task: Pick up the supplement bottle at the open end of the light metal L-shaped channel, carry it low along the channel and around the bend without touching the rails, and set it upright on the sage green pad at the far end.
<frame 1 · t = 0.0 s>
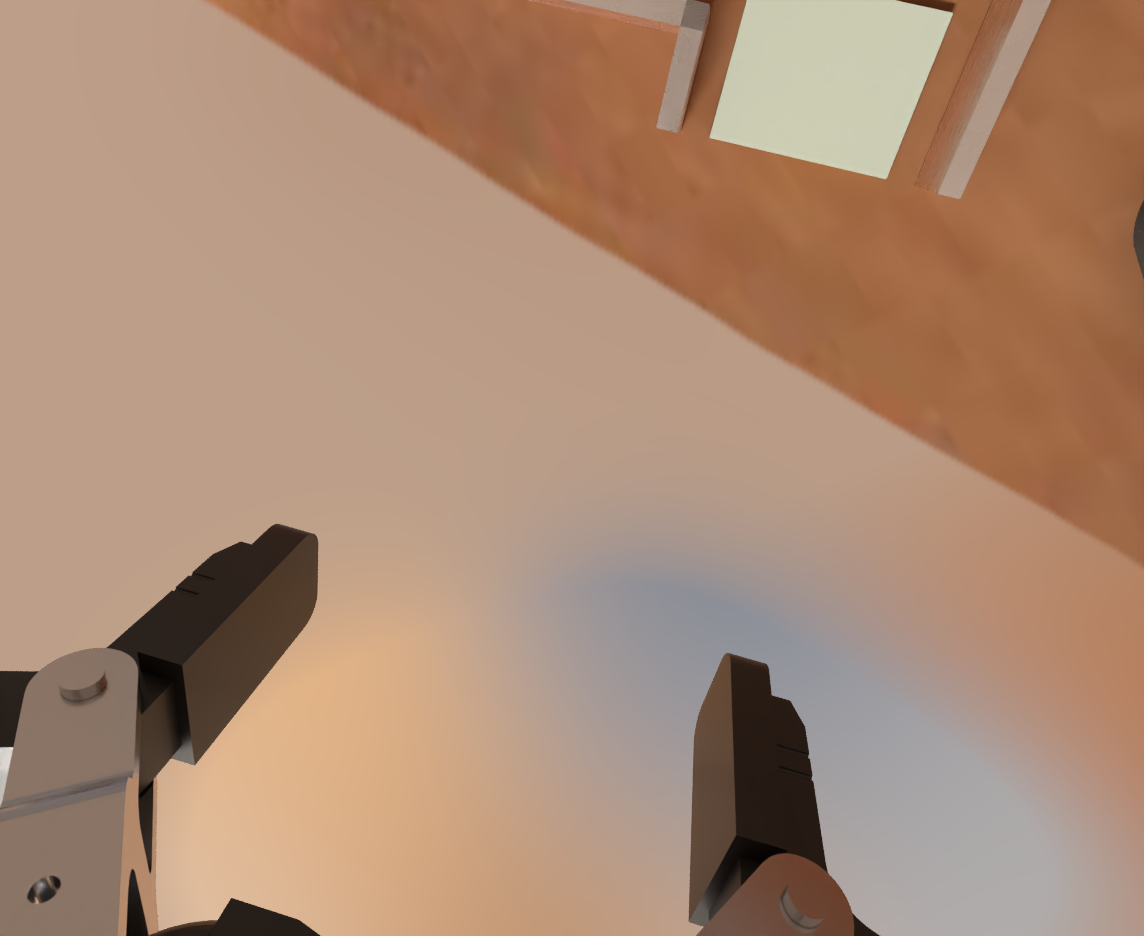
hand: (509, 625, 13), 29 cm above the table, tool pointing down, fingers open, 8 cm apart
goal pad: (822, 79, 32), on the table
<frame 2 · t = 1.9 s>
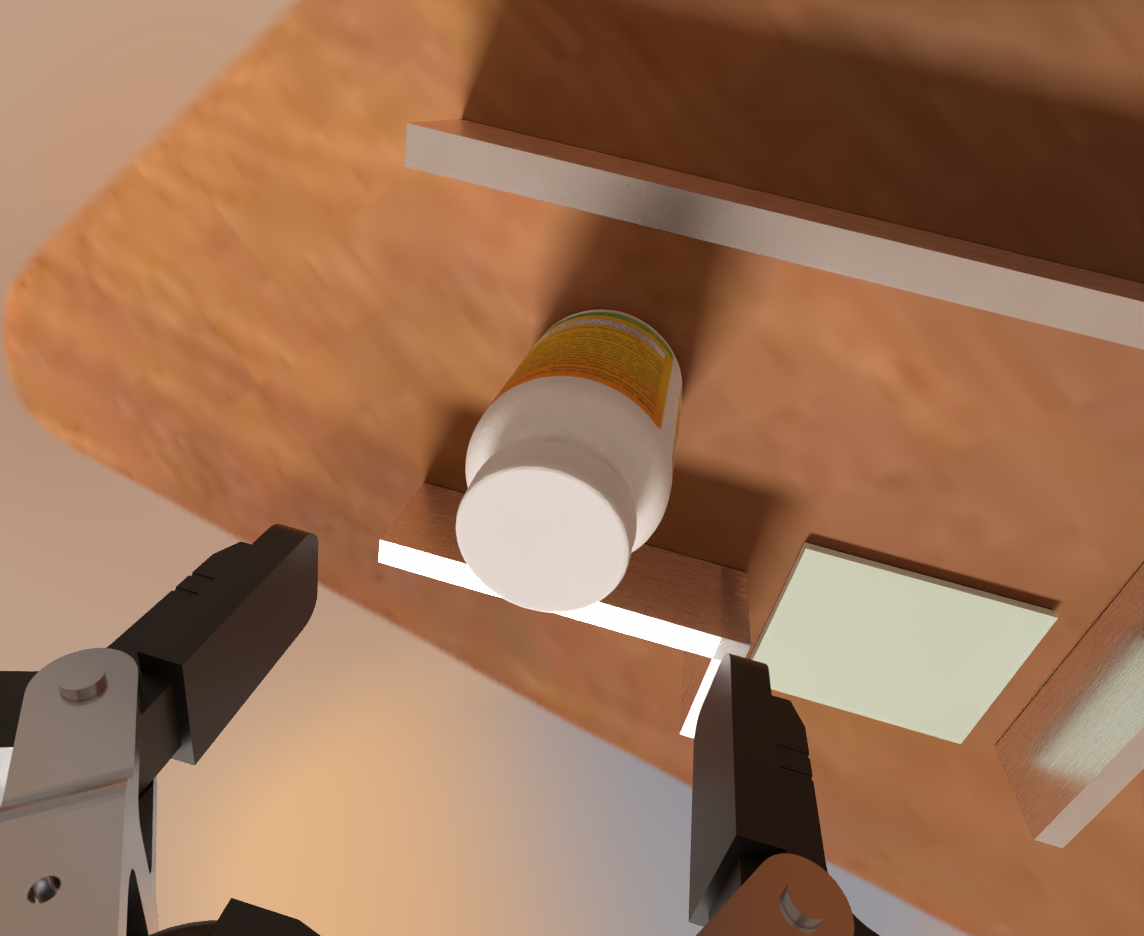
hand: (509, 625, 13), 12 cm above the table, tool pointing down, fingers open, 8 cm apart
supplement bottle: (605, 381, 23), on the table
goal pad: (885, 644, 26), on the table
channel: (983, 484, 22), on the table
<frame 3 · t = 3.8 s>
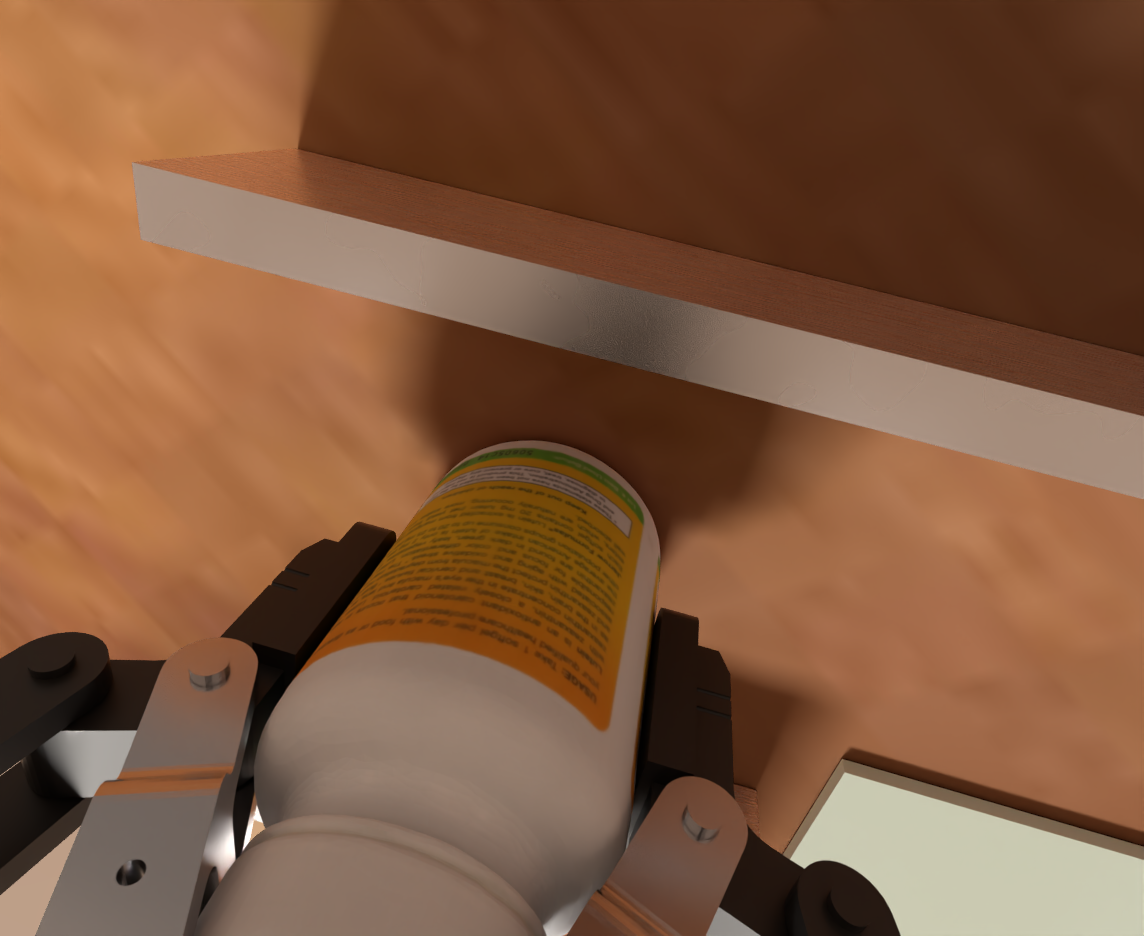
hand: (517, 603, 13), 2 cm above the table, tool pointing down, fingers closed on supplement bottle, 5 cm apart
supplement bottle: (545, 535, 16), on the table, touching gripper
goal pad: (955, 888, 18), on the table
channel: (1120, 701, 15), on the table
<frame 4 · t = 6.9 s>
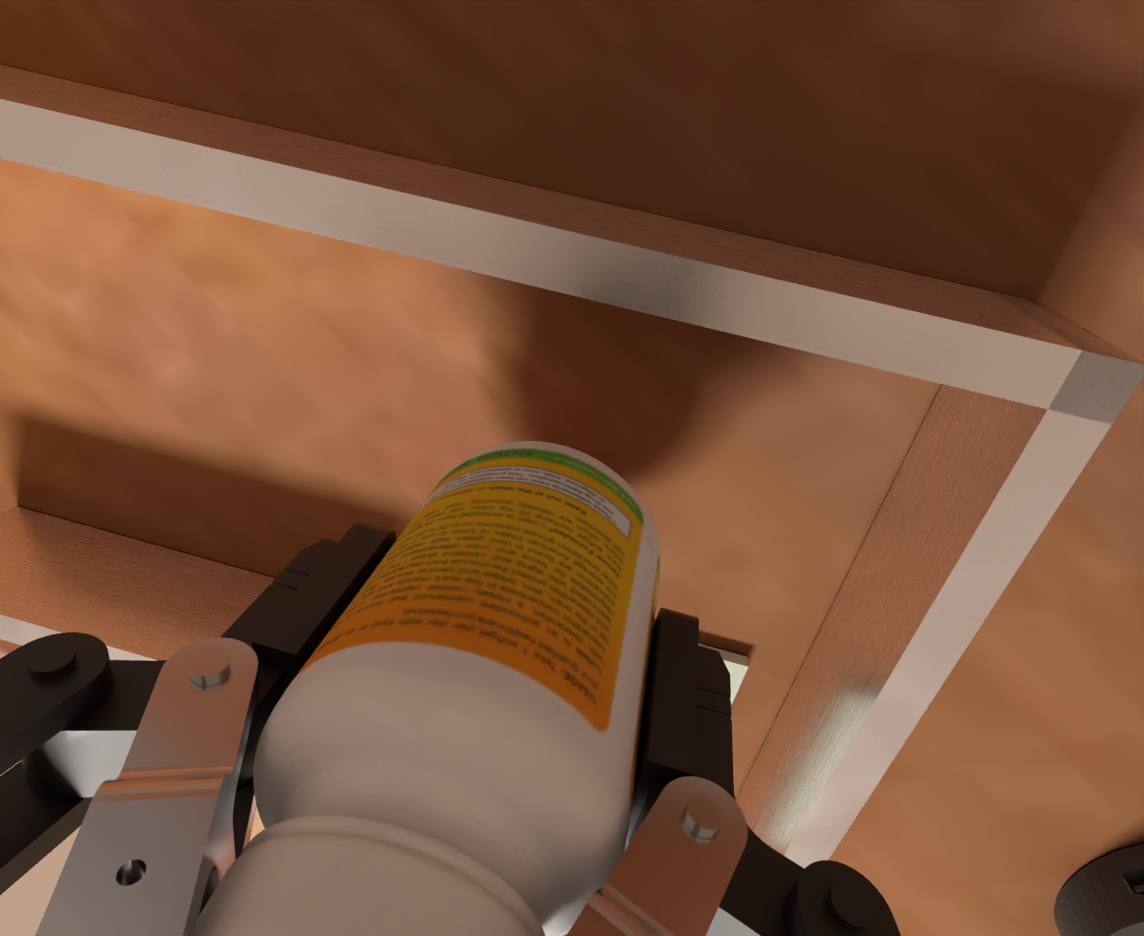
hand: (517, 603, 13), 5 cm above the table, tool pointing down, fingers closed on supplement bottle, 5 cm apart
supplement bottle: (545, 535, 16), point 2 cm above the table, touching gripper
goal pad: (572, 697, 21), on the table
channel: (625, 500, 18), on the table
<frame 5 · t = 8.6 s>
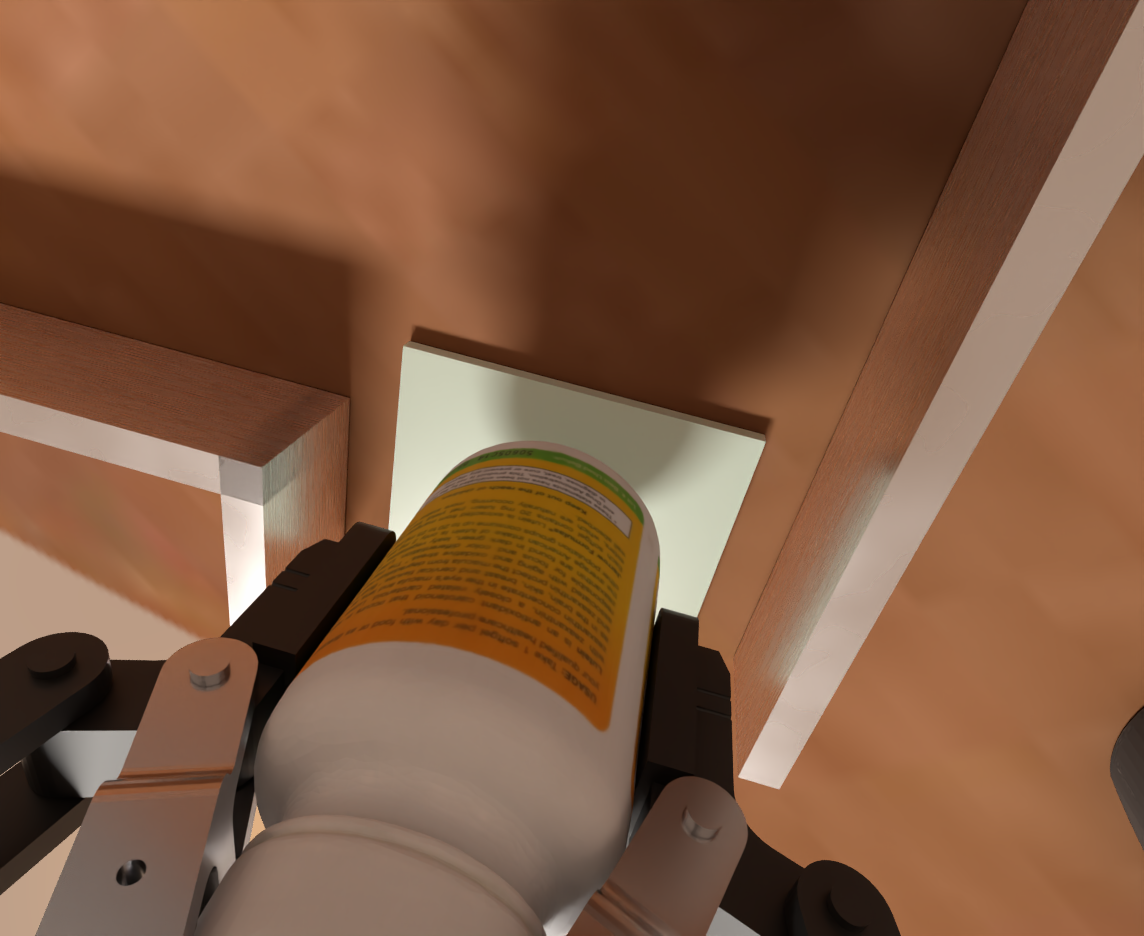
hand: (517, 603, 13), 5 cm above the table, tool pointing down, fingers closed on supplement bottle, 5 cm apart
supplement bottle: (545, 535, 16), point 3 cm above the table, touching gripper
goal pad: (557, 504, 18), on the table
channel: (622, 218, 14), on the table
when the fingers open (4 cm above the table, at t = 10.2 s): supplement bottle stays where it is, resting on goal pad.
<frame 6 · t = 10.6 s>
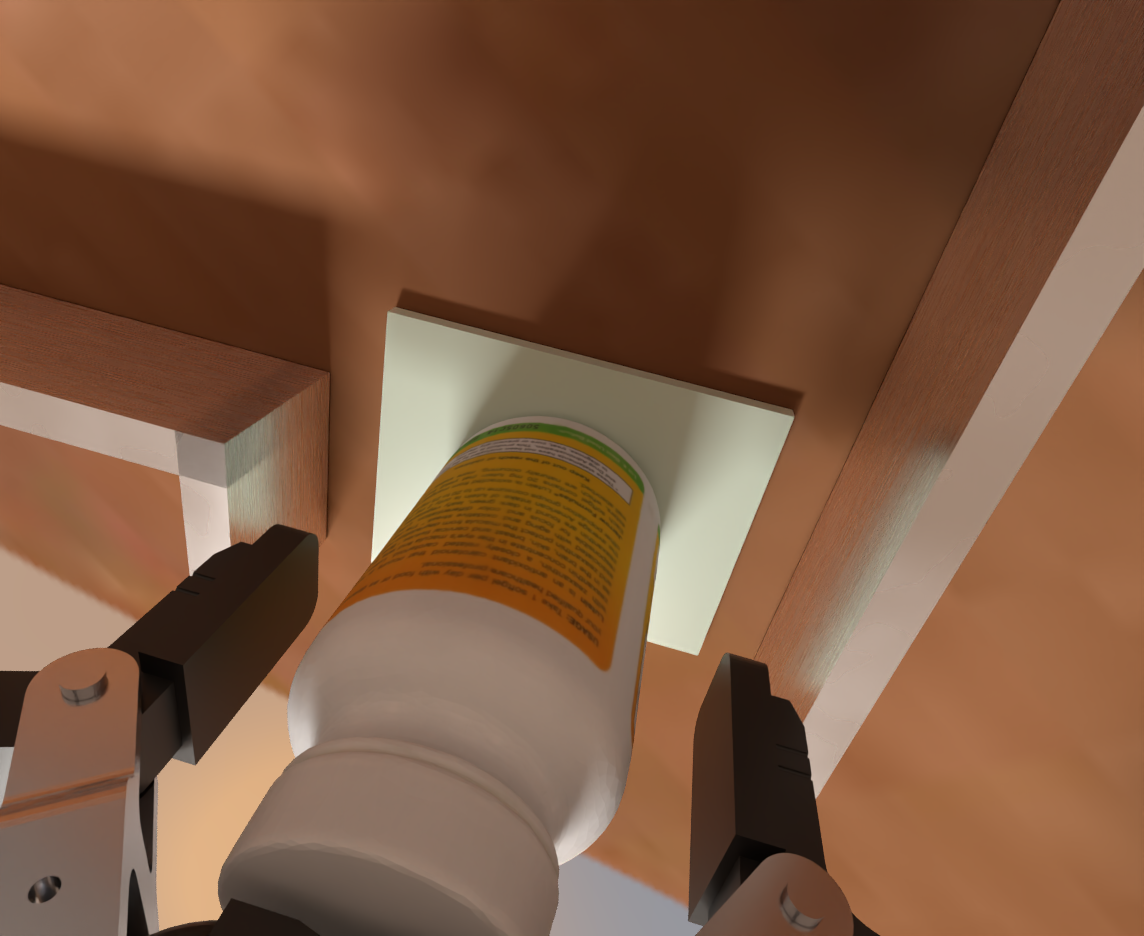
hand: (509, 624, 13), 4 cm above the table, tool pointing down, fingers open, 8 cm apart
supplement bottle: (552, 507, 16), resting on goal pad
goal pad: (559, 490, 16), on the table
channel: (634, 160, 13), on the table
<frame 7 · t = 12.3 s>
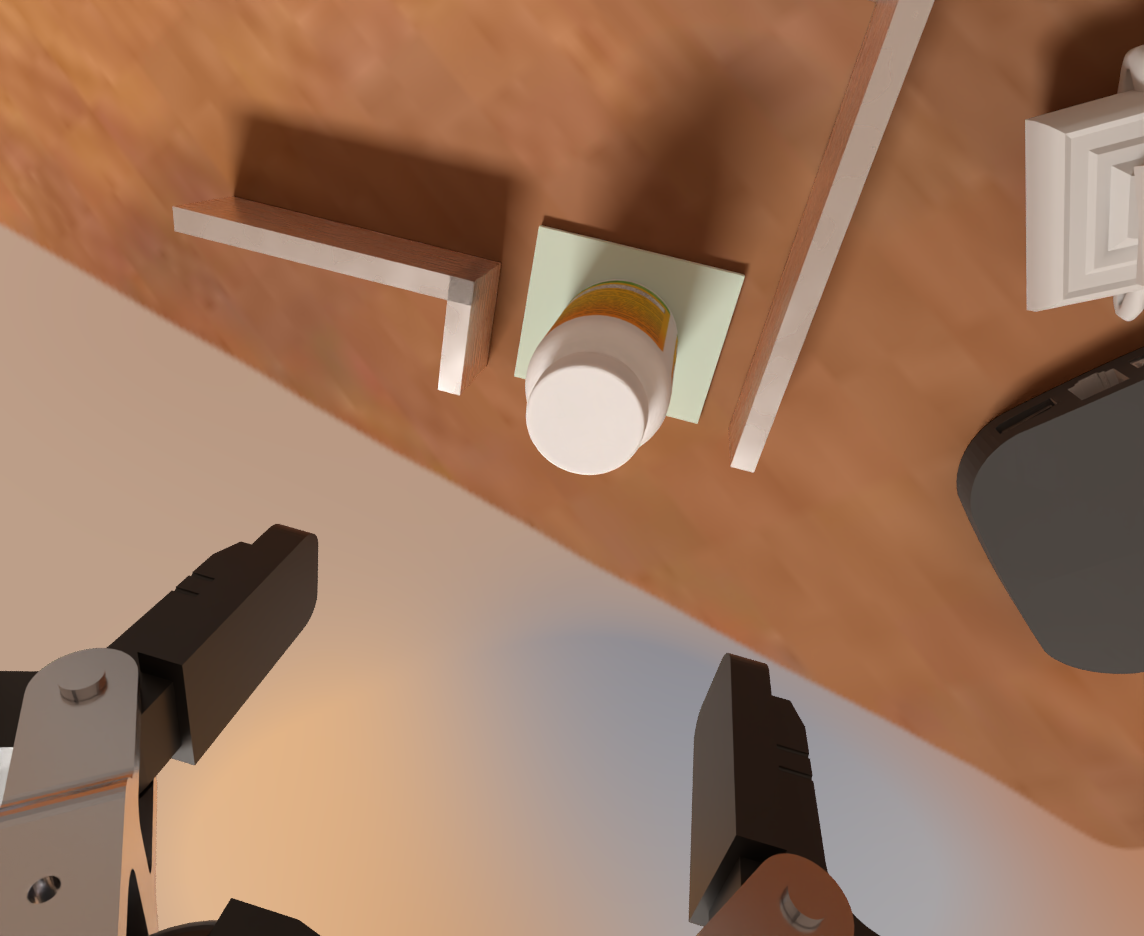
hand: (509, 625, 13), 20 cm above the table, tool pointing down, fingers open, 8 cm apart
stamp: (1097, 186, 25), on the table
supplement bottle: (618, 336, 31), resting on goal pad
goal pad: (622, 327, 31), on the table
channel: (666, 148, 27), on the table
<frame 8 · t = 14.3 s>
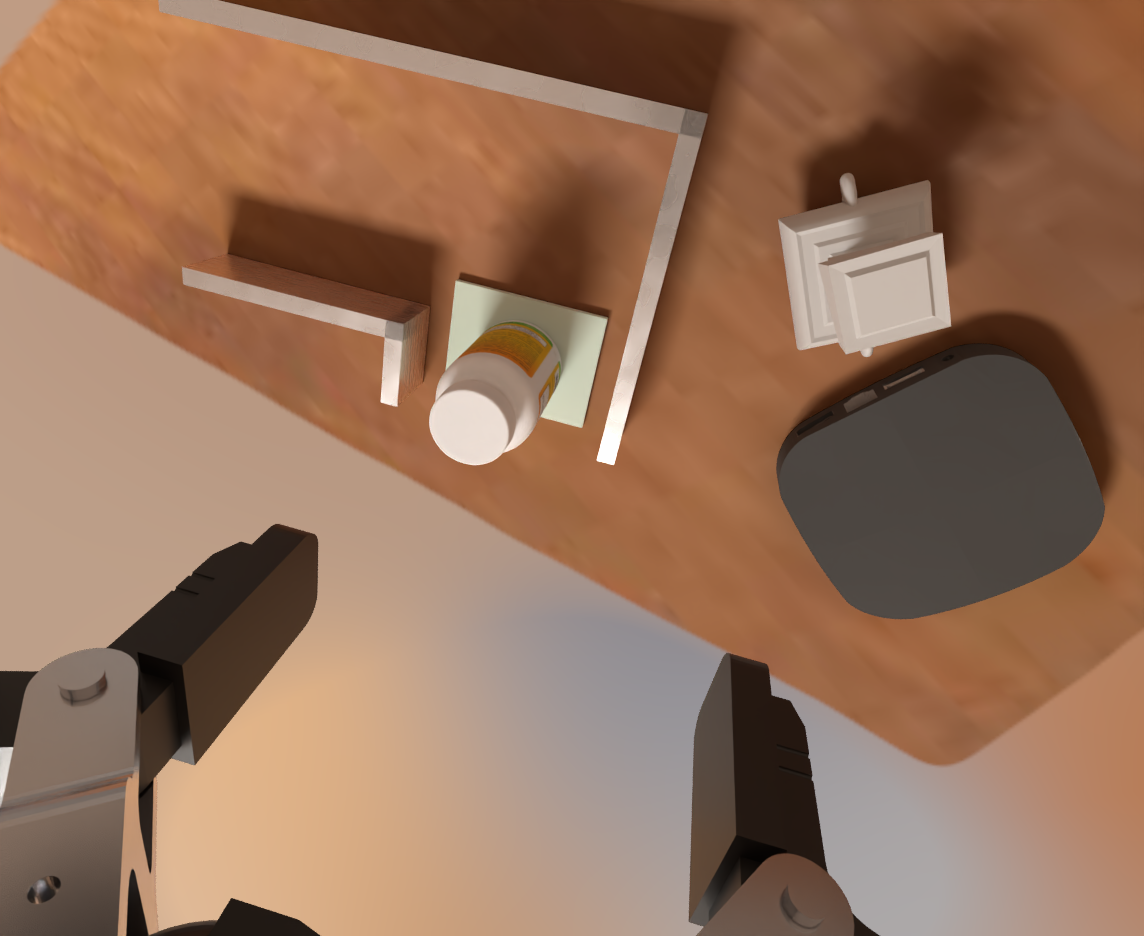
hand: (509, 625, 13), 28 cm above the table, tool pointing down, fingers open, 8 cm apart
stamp: (848, 259, 35), on the table
supplement bottle: (519, 361, 40), resting on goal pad
media streaming box: (923, 480, 40), on the table
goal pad: (522, 354, 40), on the table
channel: (544, 226, 37), on the table
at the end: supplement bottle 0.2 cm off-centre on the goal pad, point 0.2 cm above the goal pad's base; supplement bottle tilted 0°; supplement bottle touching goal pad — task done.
